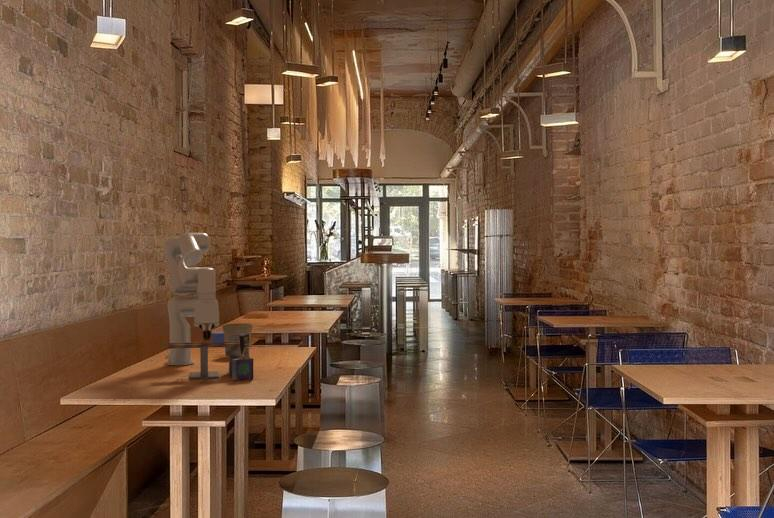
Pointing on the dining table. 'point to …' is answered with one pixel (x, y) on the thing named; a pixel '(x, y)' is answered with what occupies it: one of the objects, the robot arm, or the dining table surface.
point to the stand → (204, 366)
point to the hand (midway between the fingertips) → (206, 339)
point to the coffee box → (241, 343)
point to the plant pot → (236, 330)
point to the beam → (210, 346)
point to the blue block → (218, 338)
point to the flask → (242, 369)
